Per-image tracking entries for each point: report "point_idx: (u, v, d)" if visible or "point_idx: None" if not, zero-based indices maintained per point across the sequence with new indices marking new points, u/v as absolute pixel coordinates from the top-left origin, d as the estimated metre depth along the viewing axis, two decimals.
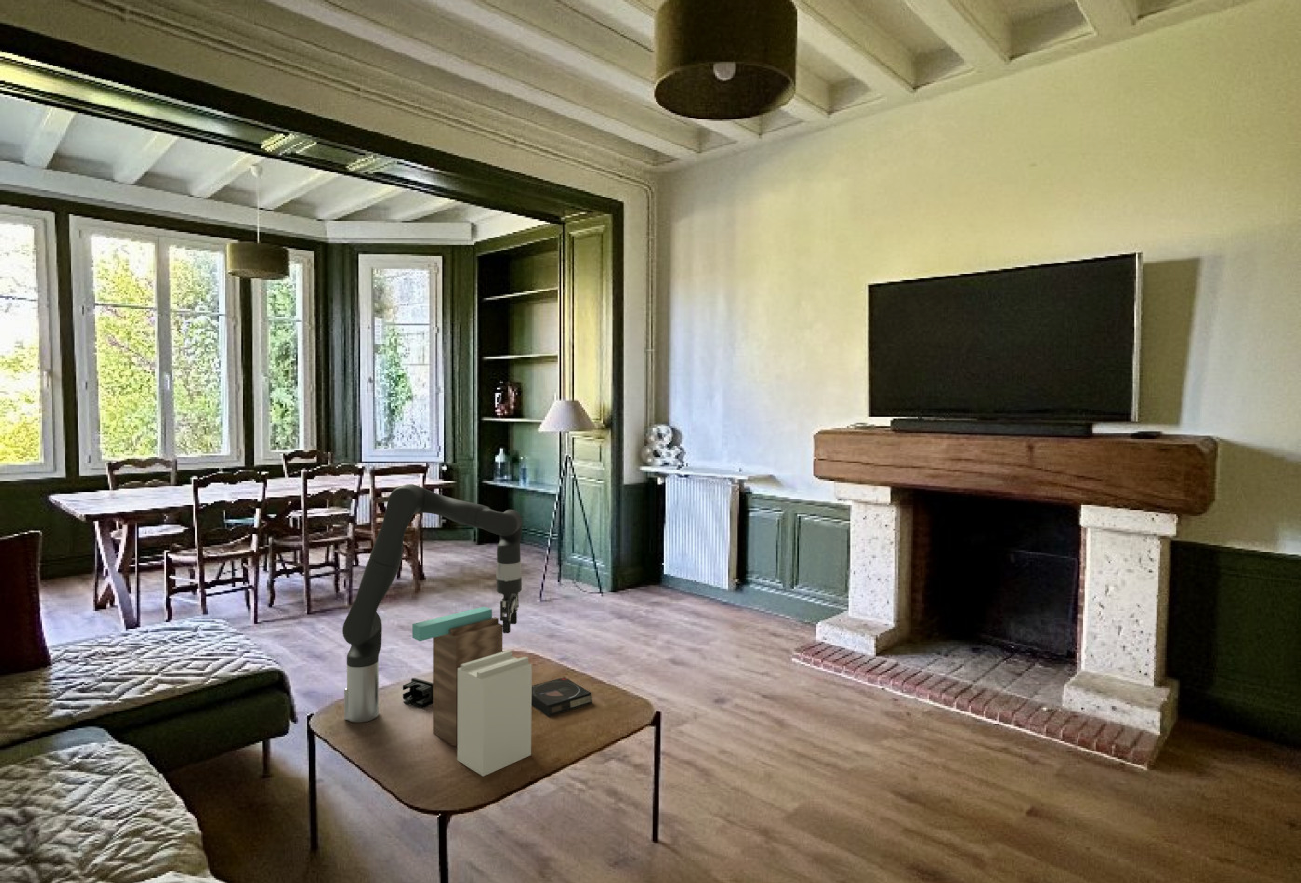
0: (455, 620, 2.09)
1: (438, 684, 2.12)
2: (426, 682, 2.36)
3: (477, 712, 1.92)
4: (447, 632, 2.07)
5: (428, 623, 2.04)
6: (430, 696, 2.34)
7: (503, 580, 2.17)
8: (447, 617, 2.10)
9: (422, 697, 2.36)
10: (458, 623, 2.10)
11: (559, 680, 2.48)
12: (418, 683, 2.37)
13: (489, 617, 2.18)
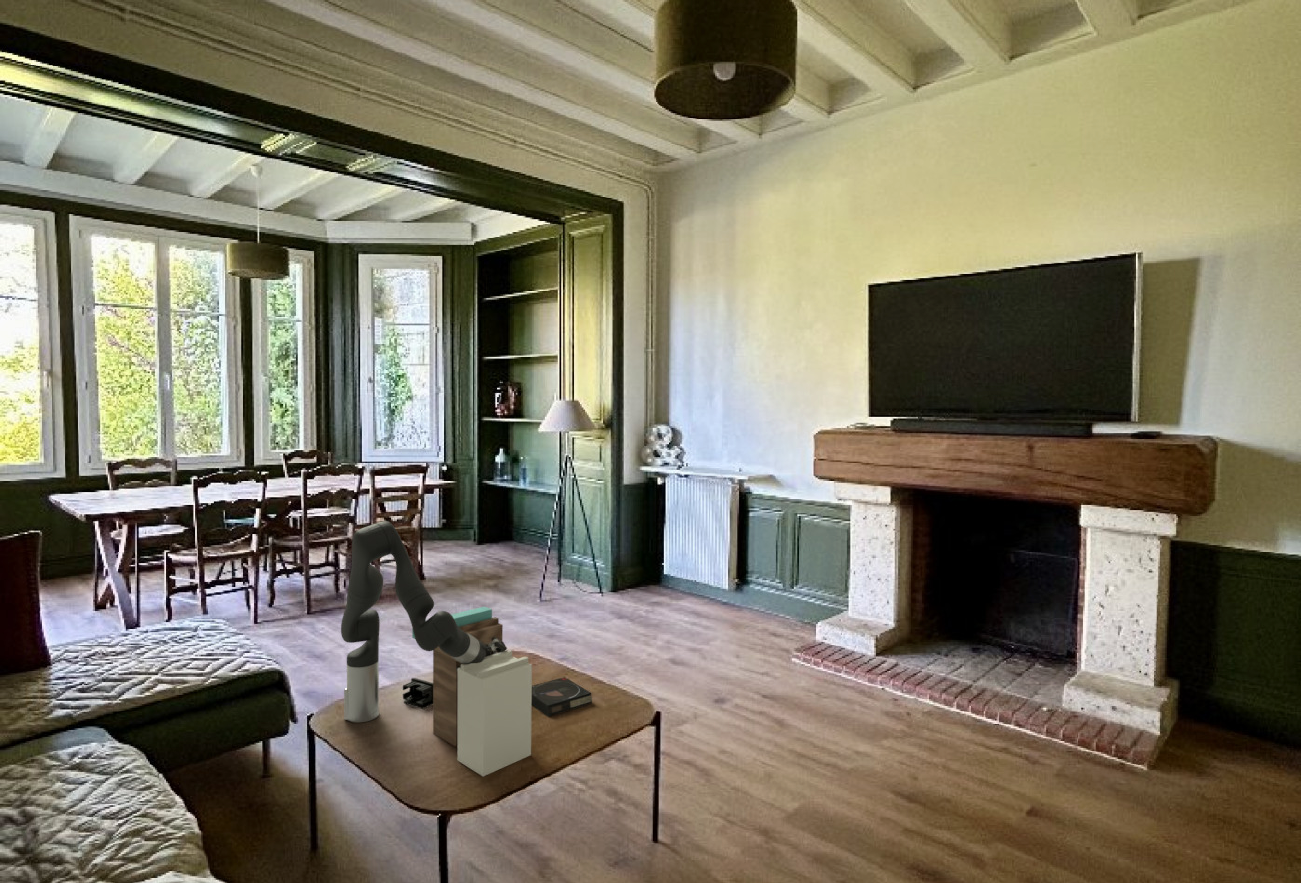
0: (455, 620, 2.09)
1: (438, 684, 2.12)
2: (426, 682, 2.36)
3: (477, 712, 1.92)
4: None
5: None
6: (430, 696, 2.34)
7: None
8: None
9: (422, 697, 2.36)
10: (458, 623, 2.10)
11: (559, 680, 2.48)
12: (418, 683, 2.37)
13: (489, 617, 2.18)
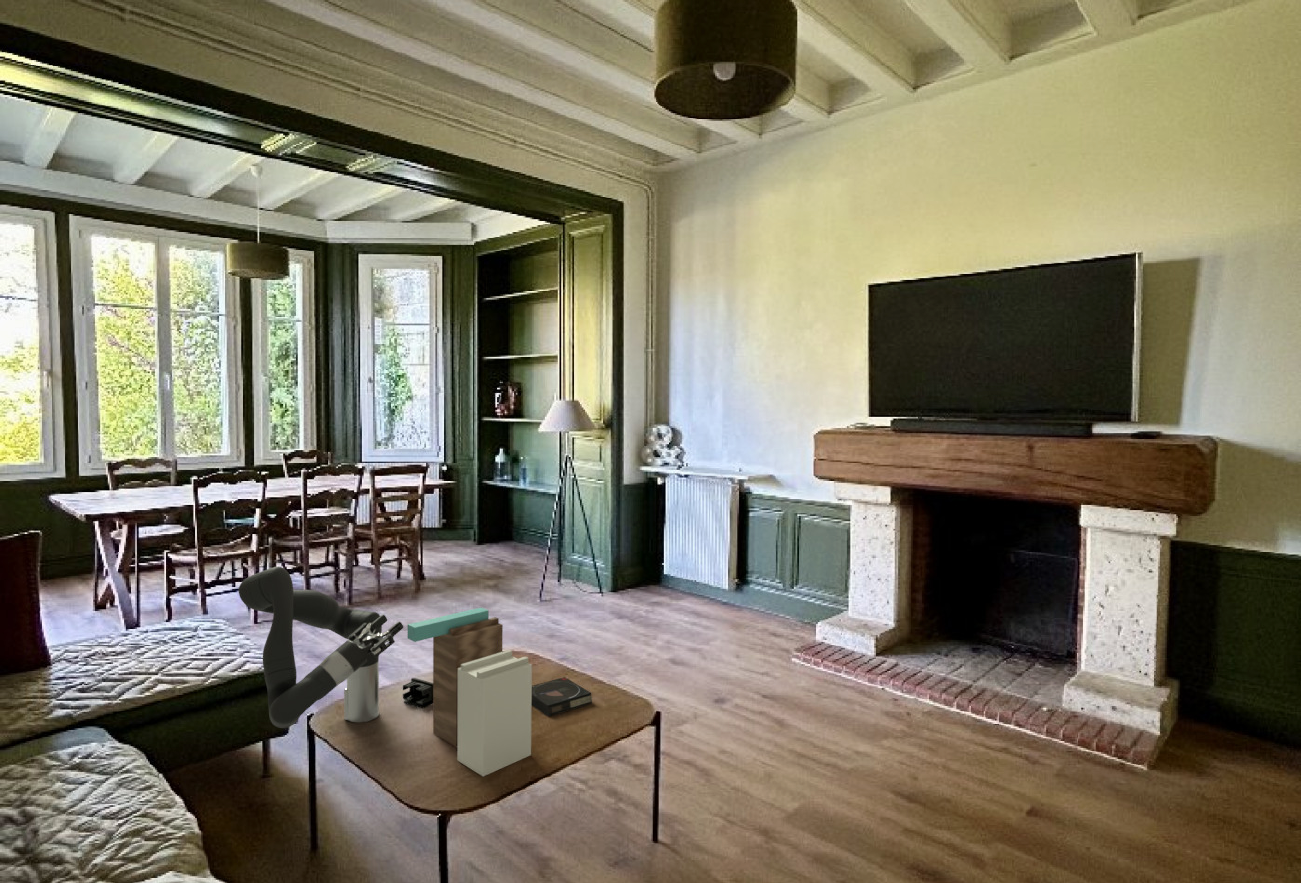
0: (450, 620, 2.08)
1: (438, 684, 2.12)
2: (426, 682, 2.36)
3: (477, 712, 1.92)
4: (442, 633, 2.07)
5: (423, 624, 2.04)
6: (430, 696, 2.34)
7: None
8: (443, 618, 2.09)
9: (422, 697, 2.36)
10: (454, 624, 2.09)
11: (559, 680, 2.48)
12: (418, 683, 2.37)
13: (486, 618, 2.17)
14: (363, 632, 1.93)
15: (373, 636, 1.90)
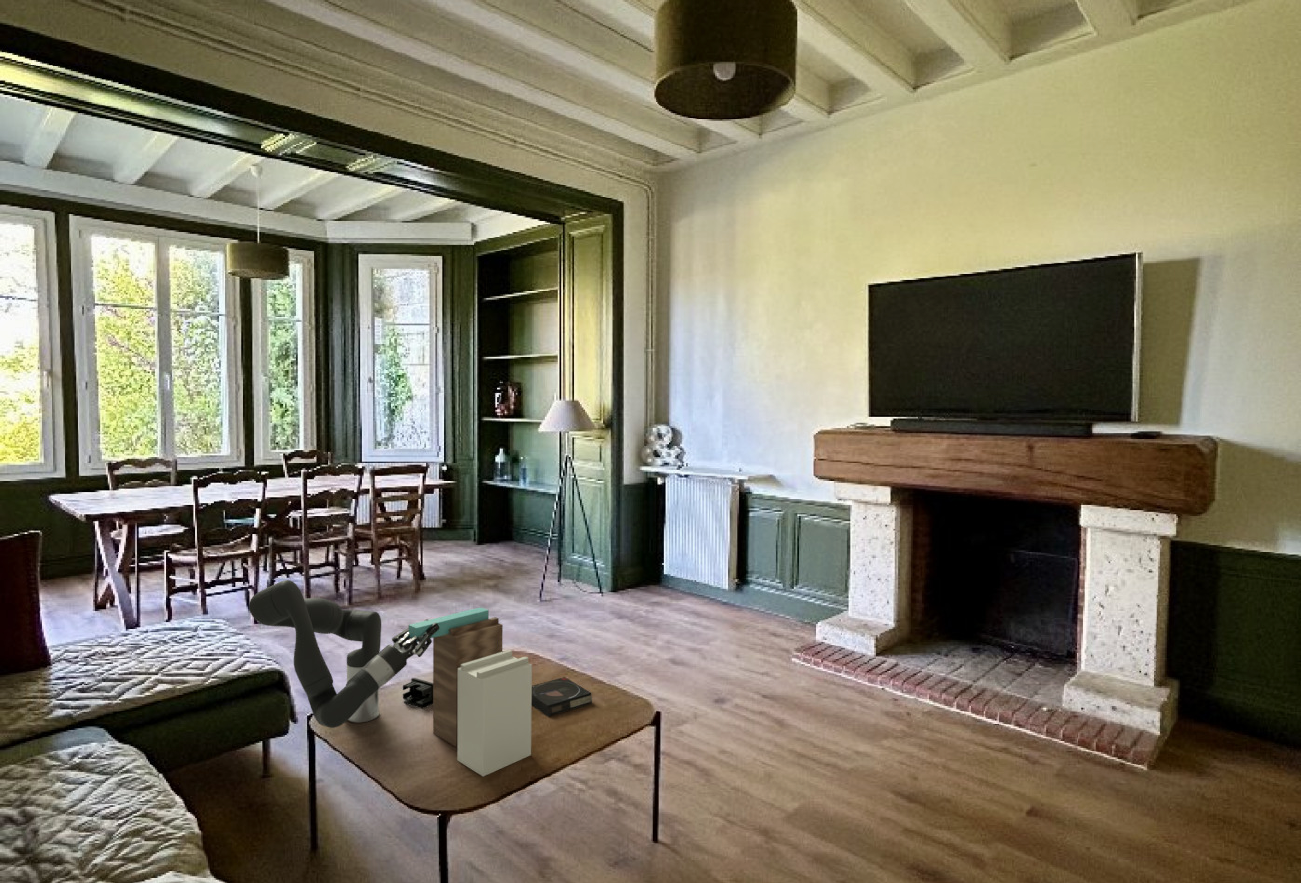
0: (451, 621, 2.08)
1: (438, 684, 2.12)
2: (426, 682, 2.36)
3: (477, 712, 1.92)
4: (443, 633, 2.07)
5: (424, 624, 2.03)
6: (430, 696, 2.34)
7: None
8: (443, 618, 2.09)
9: (422, 697, 2.36)
10: (454, 624, 2.09)
11: (559, 680, 2.48)
12: (418, 683, 2.37)
13: (486, 618, 2.17)
14: (405, 636, 2.02)
15: (412, 639, 2.00)
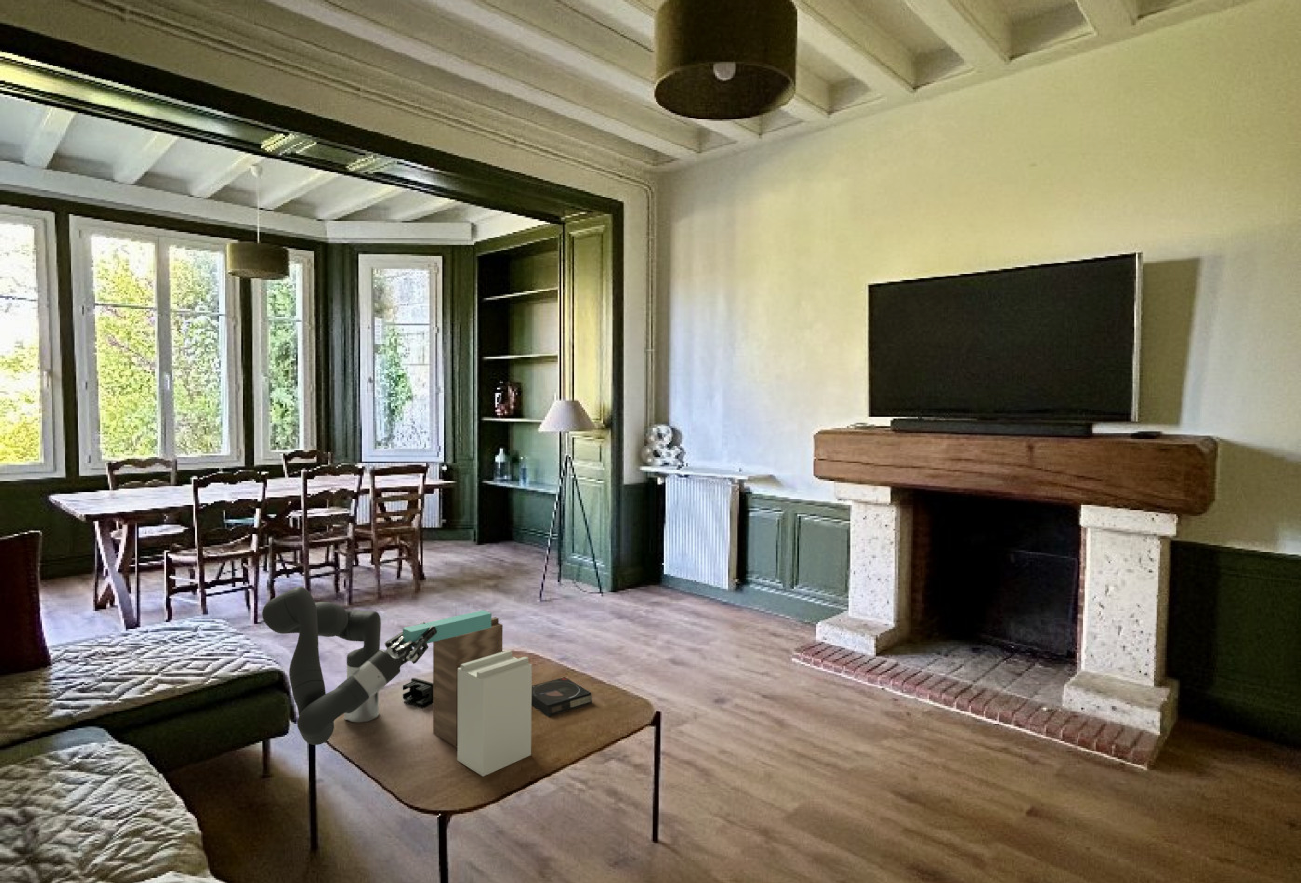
0: (450, 624, 1.90)
1: (438, 684, 2.12)
2: (426, 682, 2.36)
3: (477, 712, 1.92)
4: (441, 638, 1.88)
5: (420, 627, 1.85)
6: (430, 696, 2.34)
7: None
8: (442, 621, 1.90)
9: (422, 697, 2.36)
10: (454, 628, 1.91)
11: (559, 680, 2.48)
12: (418, 683, 2.37)
13: (488, 622, 1.98)
14: (399, 641, 1.83)
15: (407, 644, 1.81)
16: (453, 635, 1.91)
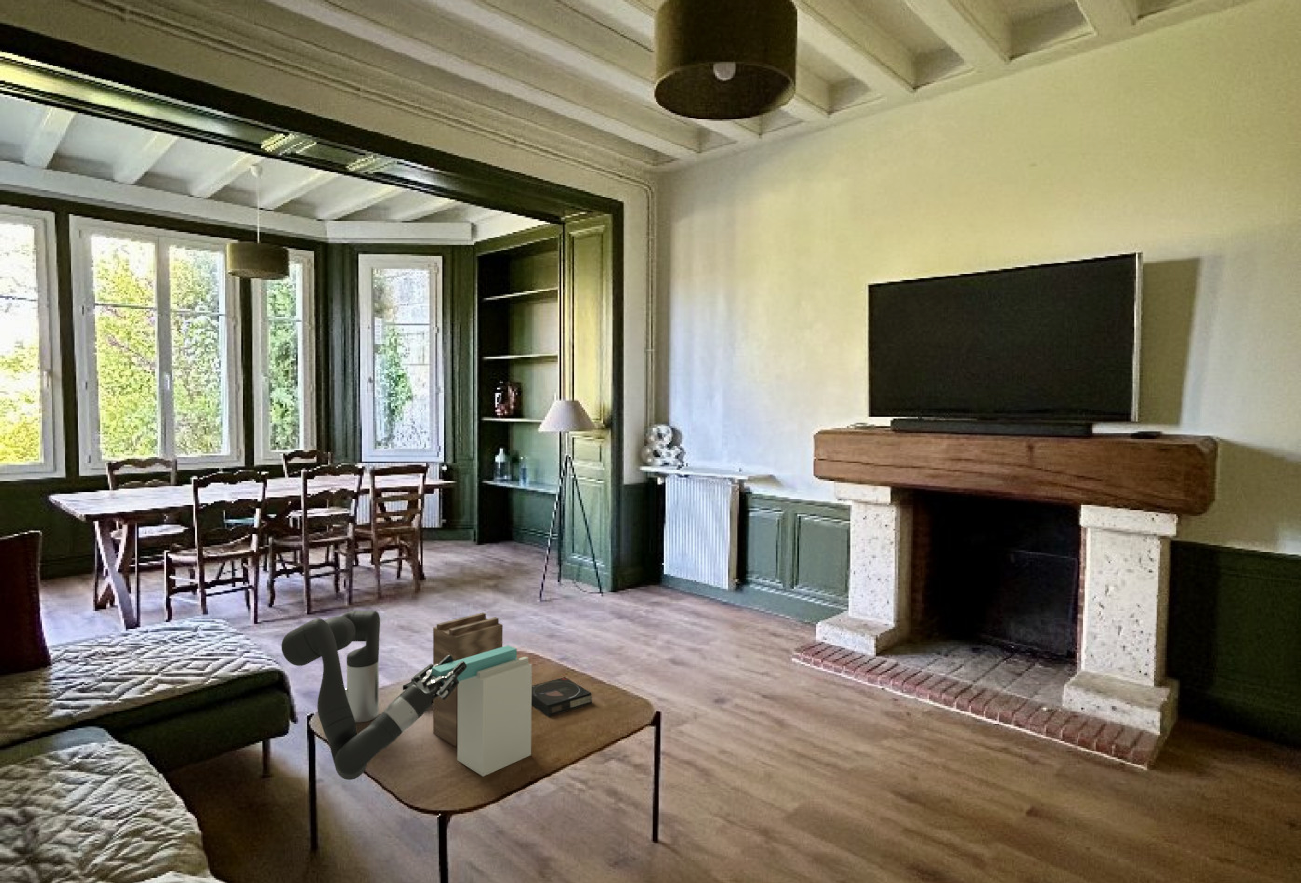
0: (477, 662, 1.93)
1: None
2: None
3: (477, 712, 1.92)
4: (469, 676, 1.91)
5: (449, 667, 1.88)
6: None
7: None
8: (469, 659, 1.94)
9: None
10: (481, 665, 1.94)
11: (559, 680, 2.48)
12: None
13: (514, 657, 2.02)
14: (428, 675, 1.86)
15: (437, 679, 1.84)
16: None
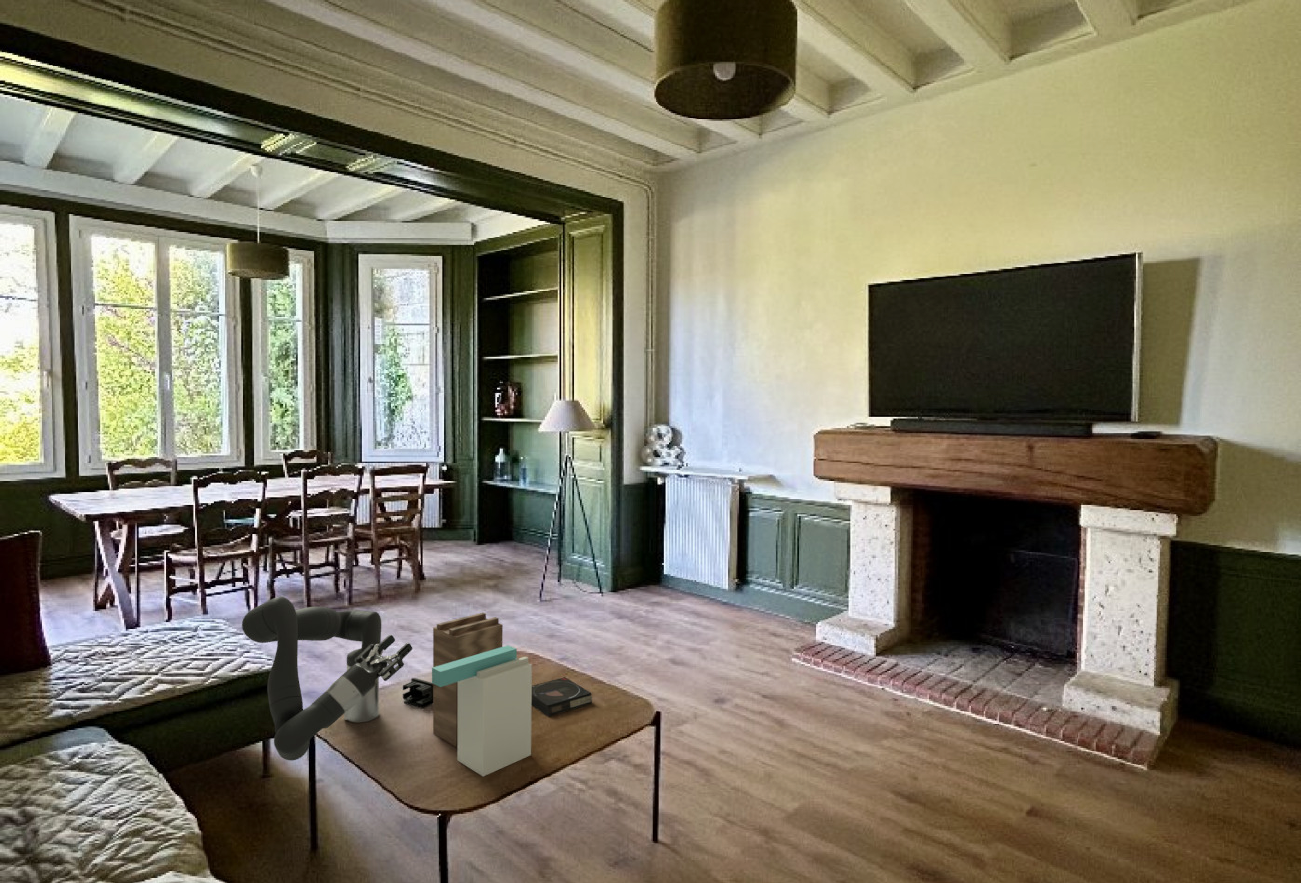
0: (477, 662, 1.93)
1: None
2: (426, 682, 2.36)
3: (477, 712, 1.92)
4: (469, 676, 1.91)
5: (449, 667, 1.88)
6: (430, 696, 2.34)
7: None
8: (469, 659, 1.94)
9: (422, 697, 2.36)
10: (481, 665, 1.94)
11: (559, 680, 2.48)
12: (418, 683, 2.37)
13: (514, 657, 2.02)
14: (370, 654, 1.85)
15: (381, 659, 1.82)
16: None
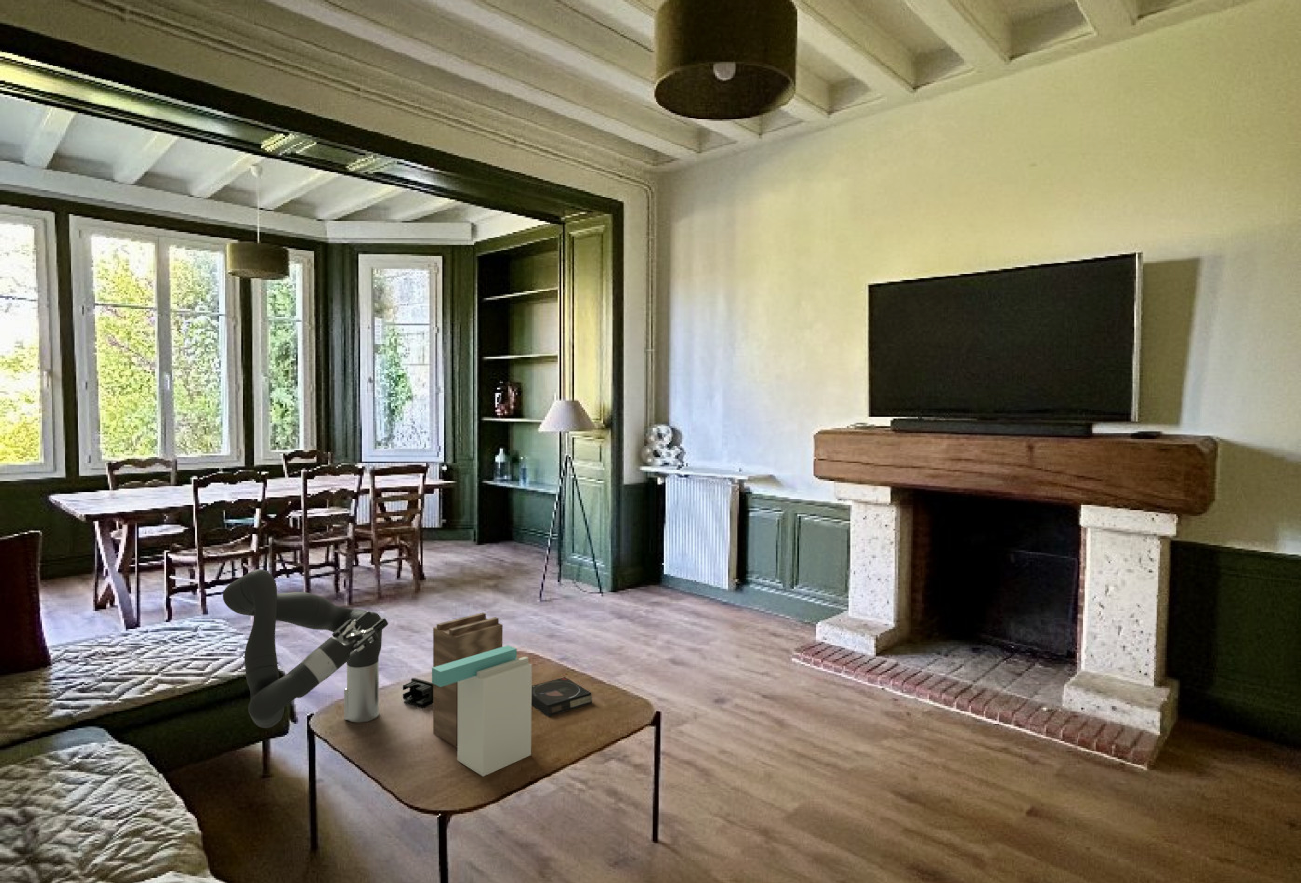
0: (477, 662, 1.93)
1: None
2: (426, 682, 2.36)
3: (477, 712, 1.92)
4: (469, 676, 1.91)
5: (449, 667, 1.88)
6: (430, 696, 2.34)
7: None
8: (469, 659, 1.94)
9: (422, 697, 2.36)
10: (481, 665, 1.94)
11: (559, 680, 2.48)
12: (418, 683, 2.37)
13: (514, 657, 2.02)
14: (347, 629, 1.90)
15: (357, 633, 1.86)
16: None
